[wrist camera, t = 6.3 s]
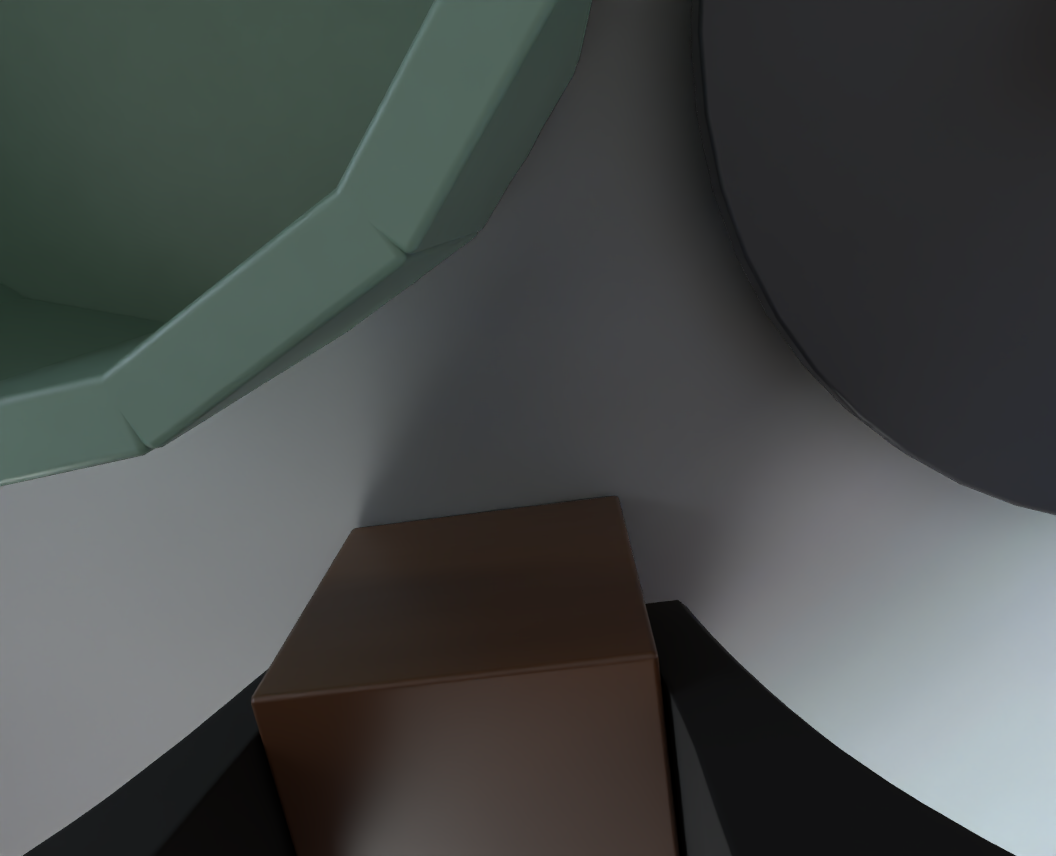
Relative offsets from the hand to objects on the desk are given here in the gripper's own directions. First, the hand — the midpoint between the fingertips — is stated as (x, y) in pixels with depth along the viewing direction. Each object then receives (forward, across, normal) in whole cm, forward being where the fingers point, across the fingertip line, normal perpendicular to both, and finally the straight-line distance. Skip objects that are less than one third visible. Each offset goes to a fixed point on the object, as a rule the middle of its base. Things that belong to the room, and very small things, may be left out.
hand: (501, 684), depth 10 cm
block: (+1, 0, 0) cm, 1 cm away
